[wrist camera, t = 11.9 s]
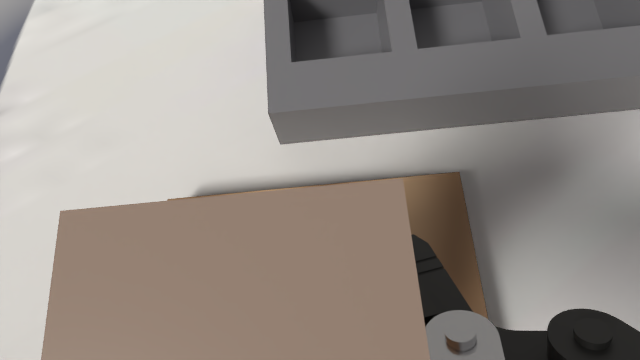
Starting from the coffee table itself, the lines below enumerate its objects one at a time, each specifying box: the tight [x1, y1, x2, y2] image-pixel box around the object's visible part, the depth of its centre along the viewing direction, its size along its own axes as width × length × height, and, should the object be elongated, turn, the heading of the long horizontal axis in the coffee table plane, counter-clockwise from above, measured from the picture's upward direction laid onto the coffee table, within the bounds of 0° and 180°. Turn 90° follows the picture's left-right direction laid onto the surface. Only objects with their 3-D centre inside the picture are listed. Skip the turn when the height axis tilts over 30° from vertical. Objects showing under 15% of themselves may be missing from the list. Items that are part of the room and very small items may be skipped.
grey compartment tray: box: [264, 0, 640, 144], centre depth 23 cm, size 19×10×4 cm, turn 94°
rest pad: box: [168, 172, 488, 319], centre depth 19 cm, size 14×14×2 cm
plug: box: [41, 178, 430, 360], centre depth 10 cm, size 4×4×13 cm
